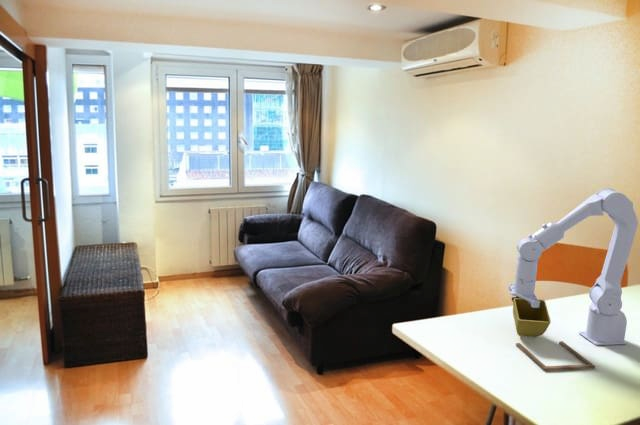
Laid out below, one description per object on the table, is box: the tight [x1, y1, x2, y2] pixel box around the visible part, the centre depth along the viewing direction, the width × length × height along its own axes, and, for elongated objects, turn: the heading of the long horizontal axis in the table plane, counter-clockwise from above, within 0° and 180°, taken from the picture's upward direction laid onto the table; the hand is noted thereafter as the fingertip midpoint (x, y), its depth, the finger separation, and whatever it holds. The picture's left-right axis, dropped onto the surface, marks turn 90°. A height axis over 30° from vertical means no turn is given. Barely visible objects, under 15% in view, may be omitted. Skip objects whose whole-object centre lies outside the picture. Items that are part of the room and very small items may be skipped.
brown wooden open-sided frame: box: [515, 340, 596, 372], centre depth 130 cm, size 14×14×1 cm
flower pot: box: [512, 298, 552, 338], centre depth 141 cm, size 9×9×9 cm
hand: (520, 320), depth 147 cm, fingers closed, pressing on flower pot
